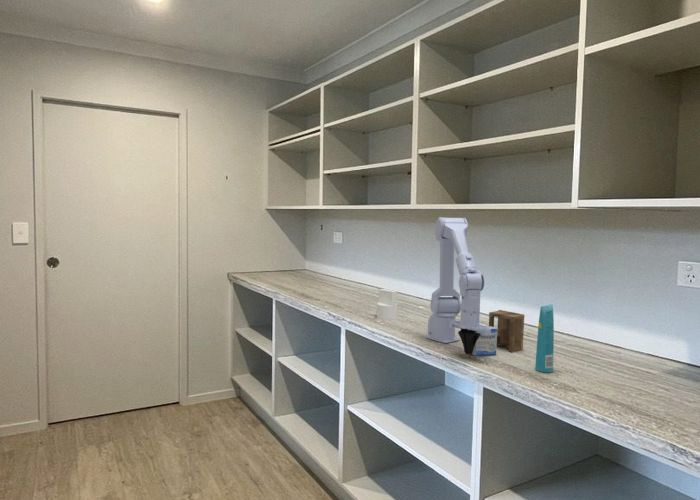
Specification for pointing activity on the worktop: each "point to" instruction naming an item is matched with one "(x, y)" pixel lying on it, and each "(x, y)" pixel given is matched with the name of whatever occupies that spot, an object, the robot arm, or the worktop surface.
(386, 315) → the base with upright slab
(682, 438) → the worktop surface
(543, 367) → the tube
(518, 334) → the walnut bay
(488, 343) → the medicine box
